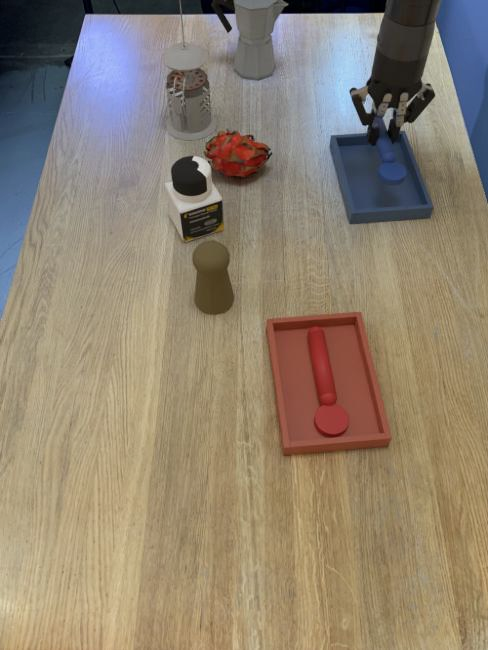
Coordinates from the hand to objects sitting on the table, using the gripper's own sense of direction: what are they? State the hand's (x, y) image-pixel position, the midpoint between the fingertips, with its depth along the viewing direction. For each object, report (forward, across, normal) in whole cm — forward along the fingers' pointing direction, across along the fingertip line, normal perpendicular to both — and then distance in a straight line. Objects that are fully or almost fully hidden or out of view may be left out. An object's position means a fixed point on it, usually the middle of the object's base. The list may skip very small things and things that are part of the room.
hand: (381, 141), depth 100 cm
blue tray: (+7, 0, -2) cm, 7 cm away
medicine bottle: (+7, -32, -9) cm, 34 cm away
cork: (+7, -30, -25) cm, 40 cm away
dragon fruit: (+7, -24, +3) cm, 25 cm away
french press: (+7, -32, +16) cm, 36 cm away
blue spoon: (0, 0, -3) cm, 3 cm away
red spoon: (+6, -16, -42) cm, 45 cm away
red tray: (+7, -16, -41) cm, 44 cm away
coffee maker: (+7, -19, +34) cm, 40 cm away
